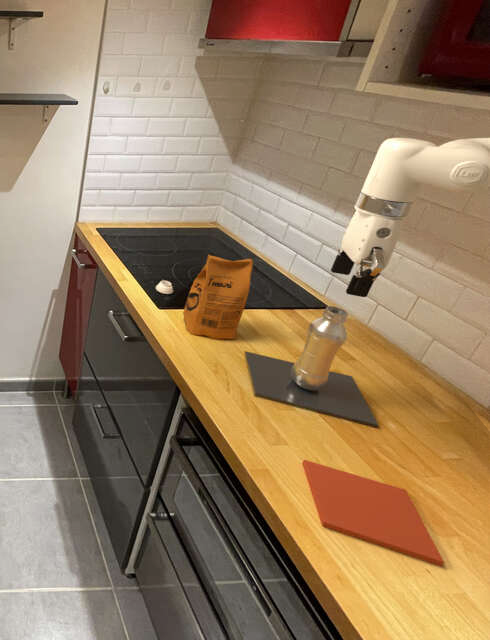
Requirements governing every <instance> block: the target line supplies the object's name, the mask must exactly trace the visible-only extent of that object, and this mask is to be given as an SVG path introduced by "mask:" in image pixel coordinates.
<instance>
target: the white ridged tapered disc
mask: <svg viewBox="0 0 490 640" xmlns="http://www.w3.org/2000/svg"><path fill="white" fill-rule="evenodd" d="M155 290H156V292H159V293H161V294H164V295H171V294H173V293H174V288H173V285H172V283H171V282H170V281H169V280H161V281H160V282H159V283H158V284H157V285H156V286H155Z"/></svg>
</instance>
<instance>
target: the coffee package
mask: <svg viewBox="0 0 490 640" xmlns="http://www.w3.org/2000/svg"><path fill="white" fill-rule="evenodd" d="M253 262H254V261H253V259H251V258H244V259H239V260H230V259H229V260H228V259H224V258H222V257H218V256H213V255H210V254H208V255H207V259H206V264H204V266H203V267H202V268H201V271H200V272H199V273H198V274H197V276H196V277H195V279H194V280H193V283H192V285H191V287H190V291H189V292H188V295H187V298H186V301H185V305H184V309H183V312H182V314H183V321H184V323H185V330H187V331H188V332H189V334H191V335H193V336H206V337H208V338H211V339H215V340H223V339H229V340H232V339H234V338H235V335H236V333H237V330H238V328H239V324H240V322H241V318H242V317H243V314H244V313H243V312H244V310H245V306H246V303H247V300H248V297H249V293H250V288H251V281H252V279H251V276H252V271H253V266H254V265H253V264H254V263H253Z"/></svg>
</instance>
